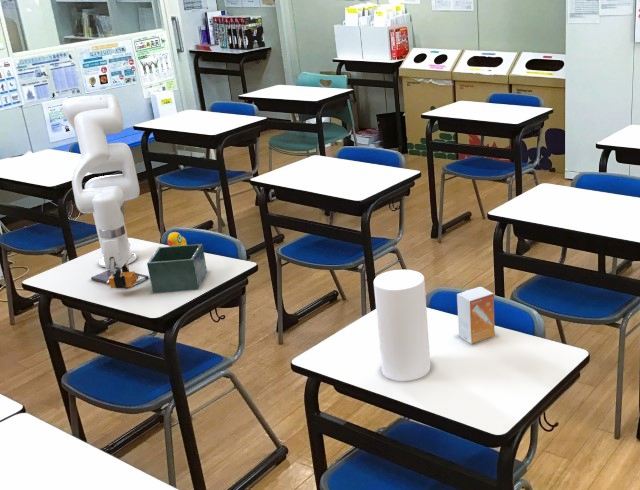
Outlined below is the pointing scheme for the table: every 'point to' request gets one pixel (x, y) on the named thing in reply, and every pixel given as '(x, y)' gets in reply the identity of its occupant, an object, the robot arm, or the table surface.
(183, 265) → the bin
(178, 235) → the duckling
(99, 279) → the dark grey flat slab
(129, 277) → the packet
